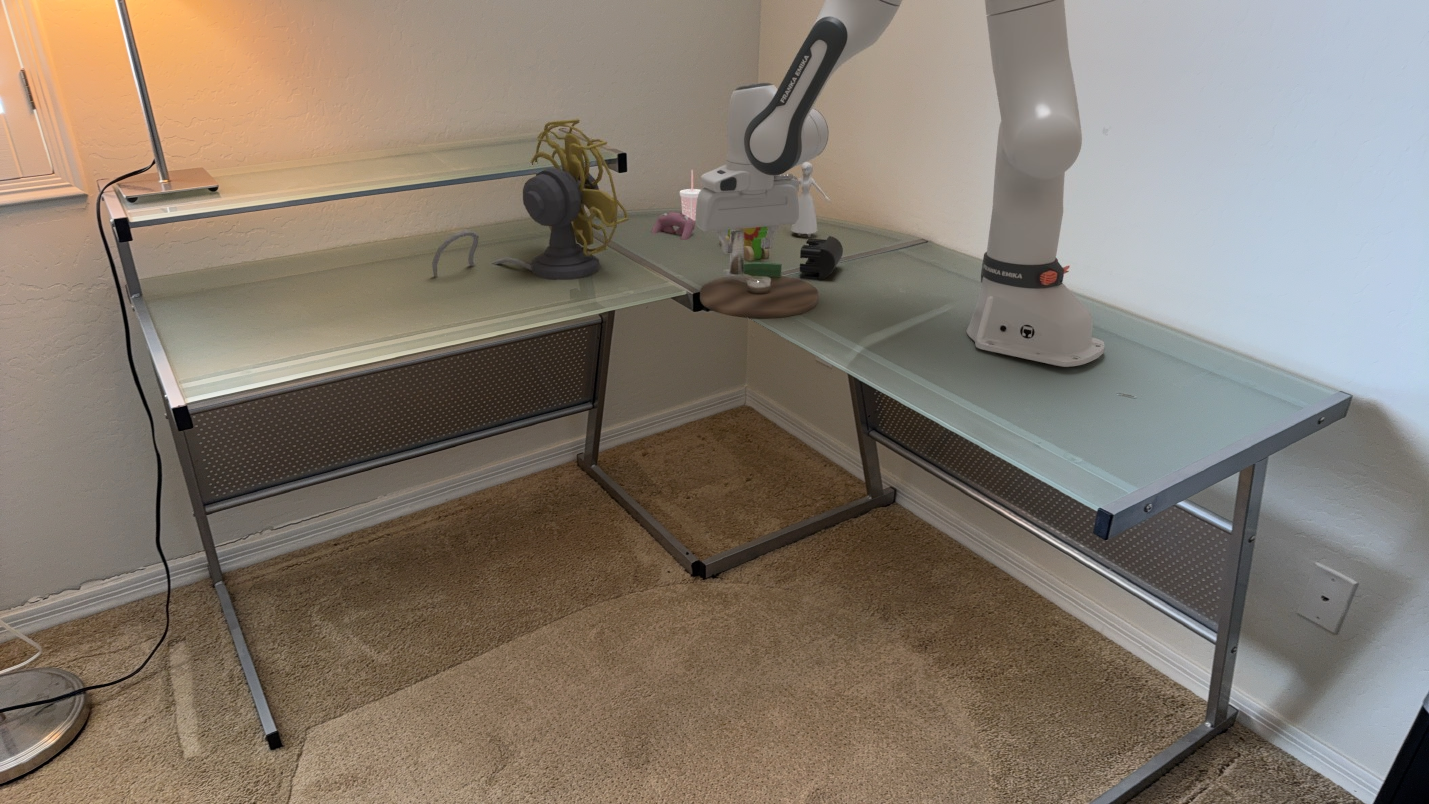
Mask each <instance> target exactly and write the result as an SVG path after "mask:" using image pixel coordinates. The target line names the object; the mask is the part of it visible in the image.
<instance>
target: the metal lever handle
mask: <svg viewBox="0 0 1429 804" xmlns="http://www.w3.org/2000/svg"><path fill="white" fill-rule="evenodd" d="M730 243H731V244H733V245H732V253H729V268H725V269H723V277H729V278H732V279H735V280H738V281H742V282H745V283H747V290H748V291H749V292H752V293H767V292H769V291H771V278H769V277H766V276H751V275H748V274H744V263H745V262H744V260H745V259H744V230H741V229H734V230H730Z"/></svg>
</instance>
